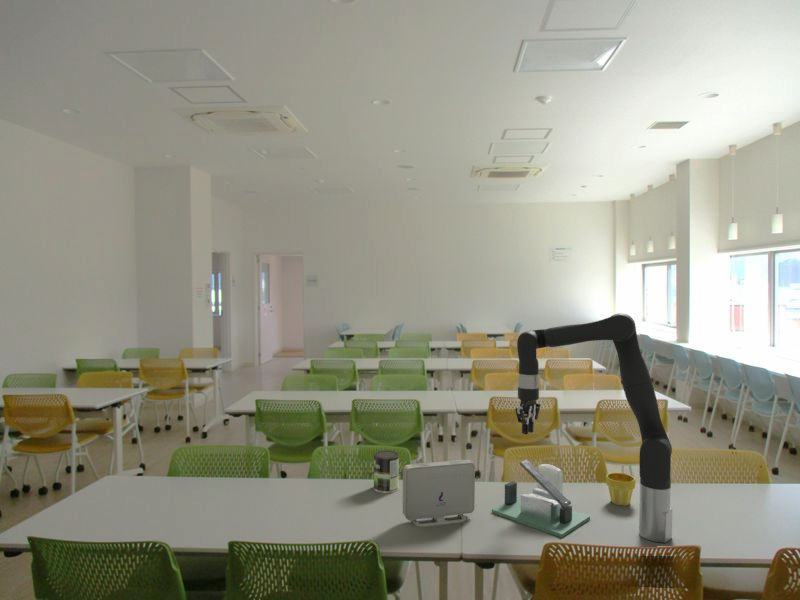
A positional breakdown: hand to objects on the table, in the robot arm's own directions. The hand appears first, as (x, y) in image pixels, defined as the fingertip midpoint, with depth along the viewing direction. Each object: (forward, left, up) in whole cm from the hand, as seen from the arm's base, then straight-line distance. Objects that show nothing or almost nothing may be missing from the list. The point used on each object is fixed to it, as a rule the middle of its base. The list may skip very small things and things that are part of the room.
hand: (527, 432), depth 203 cm
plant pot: (-20, -33, -29) cm, 49 cm away
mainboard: (-5, 0, -29) cm, 30 cm away
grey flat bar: (-7, 0, -17) cm, 19 cm away
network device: (+19, +28, -29) cm, 45 cm away
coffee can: (+53, +21, -29) cm, 64 cm away
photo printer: (+2, -19, -29) cm, 35 cm away
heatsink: (-4, 0, -28) cm, 28 cm away
